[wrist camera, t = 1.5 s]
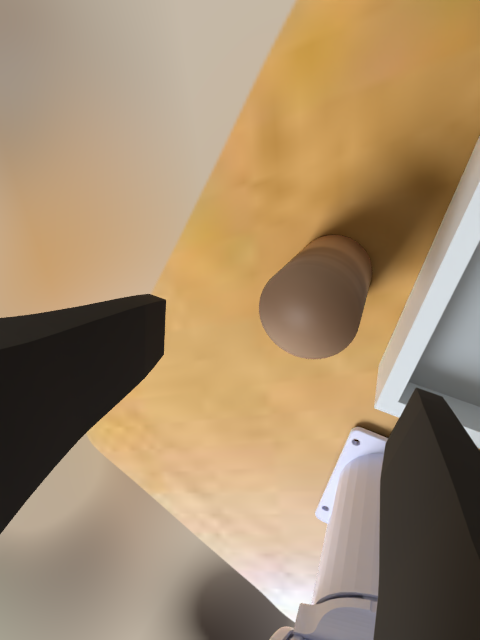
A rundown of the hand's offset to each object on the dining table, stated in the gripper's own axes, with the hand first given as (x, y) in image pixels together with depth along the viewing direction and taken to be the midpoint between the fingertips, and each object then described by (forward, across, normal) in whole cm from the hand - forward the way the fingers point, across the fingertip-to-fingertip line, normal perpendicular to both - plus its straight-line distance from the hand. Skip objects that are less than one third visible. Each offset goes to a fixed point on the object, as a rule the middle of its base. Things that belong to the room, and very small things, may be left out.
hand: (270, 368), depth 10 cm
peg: (+10, 0, 0) cm, 11 cm away
